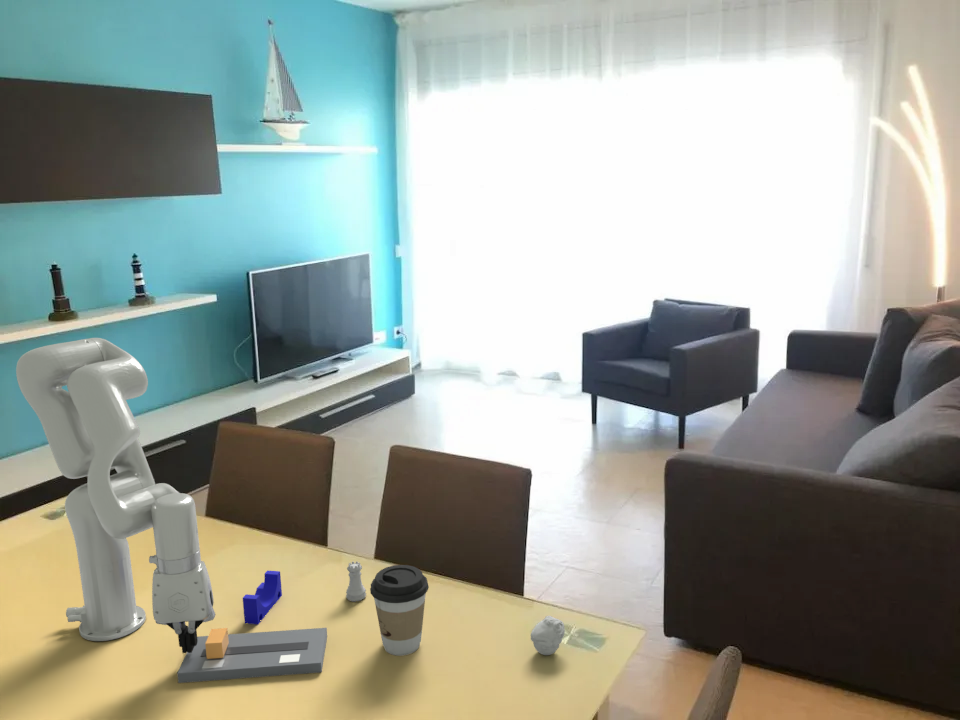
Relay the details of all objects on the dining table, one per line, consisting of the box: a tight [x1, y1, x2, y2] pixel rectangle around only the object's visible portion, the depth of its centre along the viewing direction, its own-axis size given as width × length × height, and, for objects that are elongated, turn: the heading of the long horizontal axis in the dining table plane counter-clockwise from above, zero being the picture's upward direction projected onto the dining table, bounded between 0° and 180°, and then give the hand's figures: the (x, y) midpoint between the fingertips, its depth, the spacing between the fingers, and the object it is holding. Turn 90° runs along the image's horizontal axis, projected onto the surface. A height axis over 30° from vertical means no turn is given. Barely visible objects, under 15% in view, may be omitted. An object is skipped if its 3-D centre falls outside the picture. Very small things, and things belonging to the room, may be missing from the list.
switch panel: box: [176, 627, 328, 684], centre depth 151 cm, size 26×12×2 cm, turn 96°
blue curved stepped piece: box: [242, 570, 283, 625], centre depth 169 cm, size 12×4×6 cm, turn 170°
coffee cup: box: [369, 564, 429, 657], centre depth 153 cm, size 11×11×15 cm
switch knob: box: [205, 627, 229, 659], centre depth 150 cm, size 3×5×3 cm, turn 6°
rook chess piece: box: [345, 560, 367, 603], centre depth 173 cm, size 4×4×8 cm
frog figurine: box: [530, 615, 566, 656], centre depth 151 cm, size 6×7×7 cm
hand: (189, 648), depth 149 cm, fingers closed
